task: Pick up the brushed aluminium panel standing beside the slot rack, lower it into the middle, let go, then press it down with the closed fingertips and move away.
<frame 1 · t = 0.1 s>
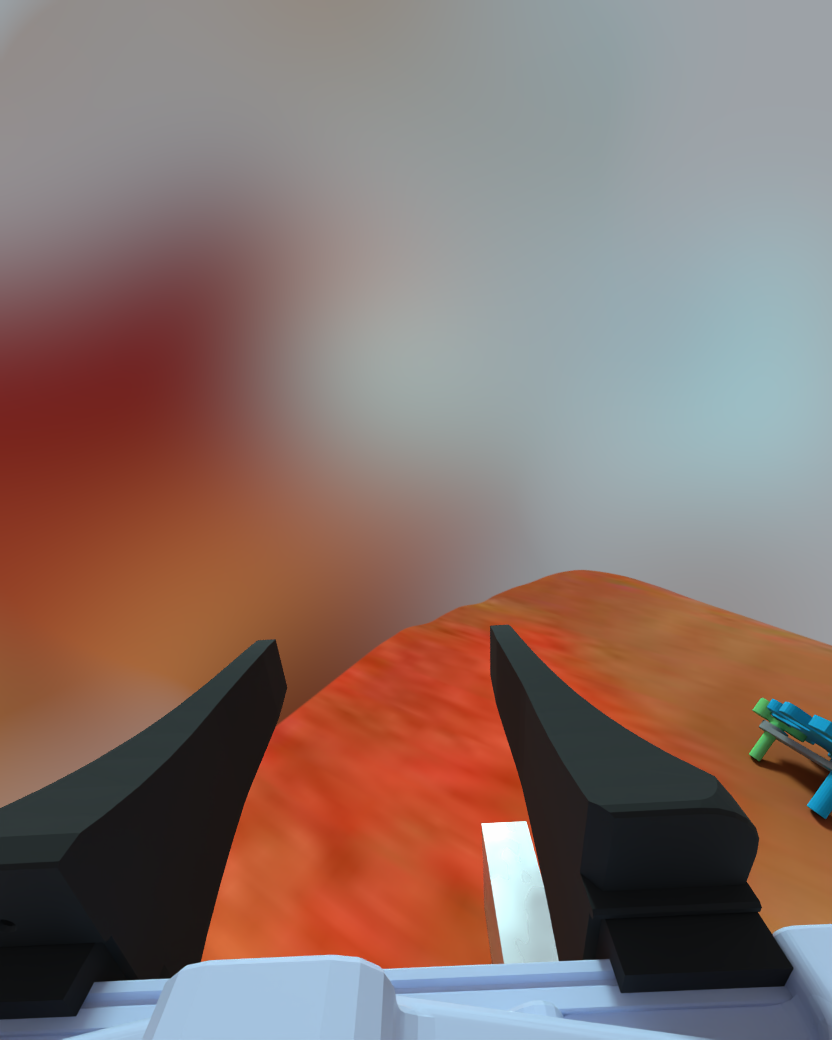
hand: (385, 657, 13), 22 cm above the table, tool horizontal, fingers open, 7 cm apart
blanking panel: (522, 1004, 20), on the table
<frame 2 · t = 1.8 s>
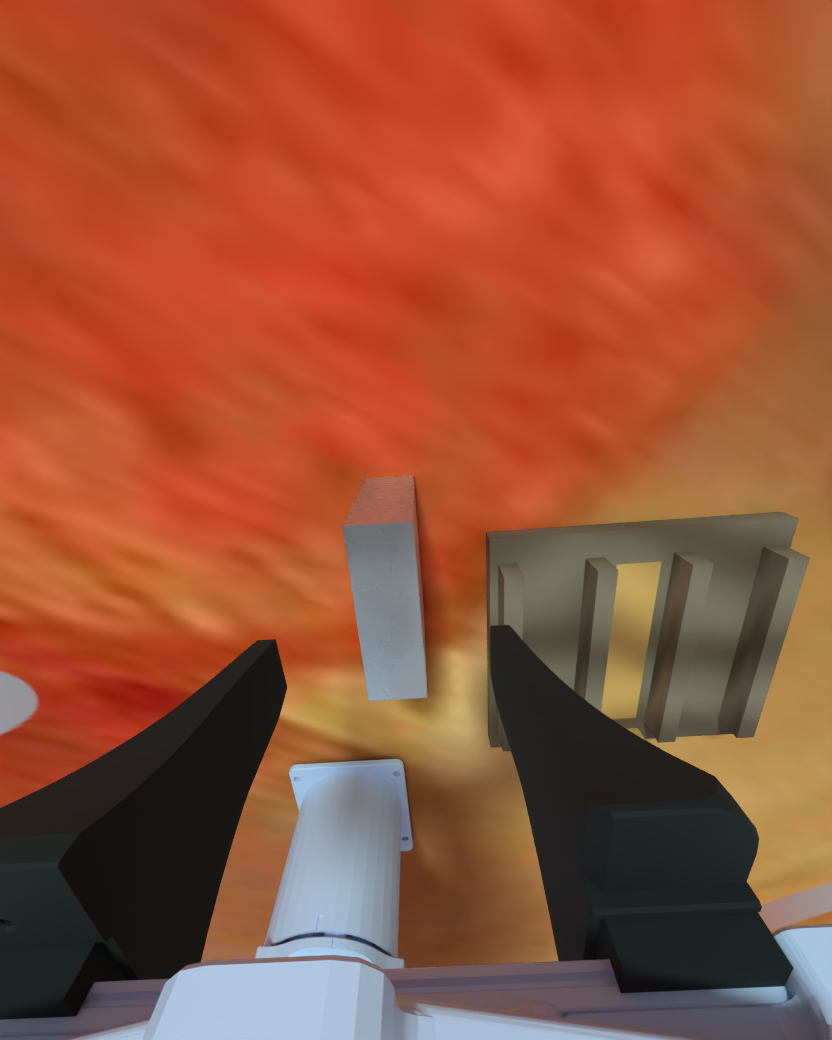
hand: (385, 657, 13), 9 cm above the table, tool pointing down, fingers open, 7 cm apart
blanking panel: (396, 546, 21), on the table
slot rack: (617, 636, 23), on the table
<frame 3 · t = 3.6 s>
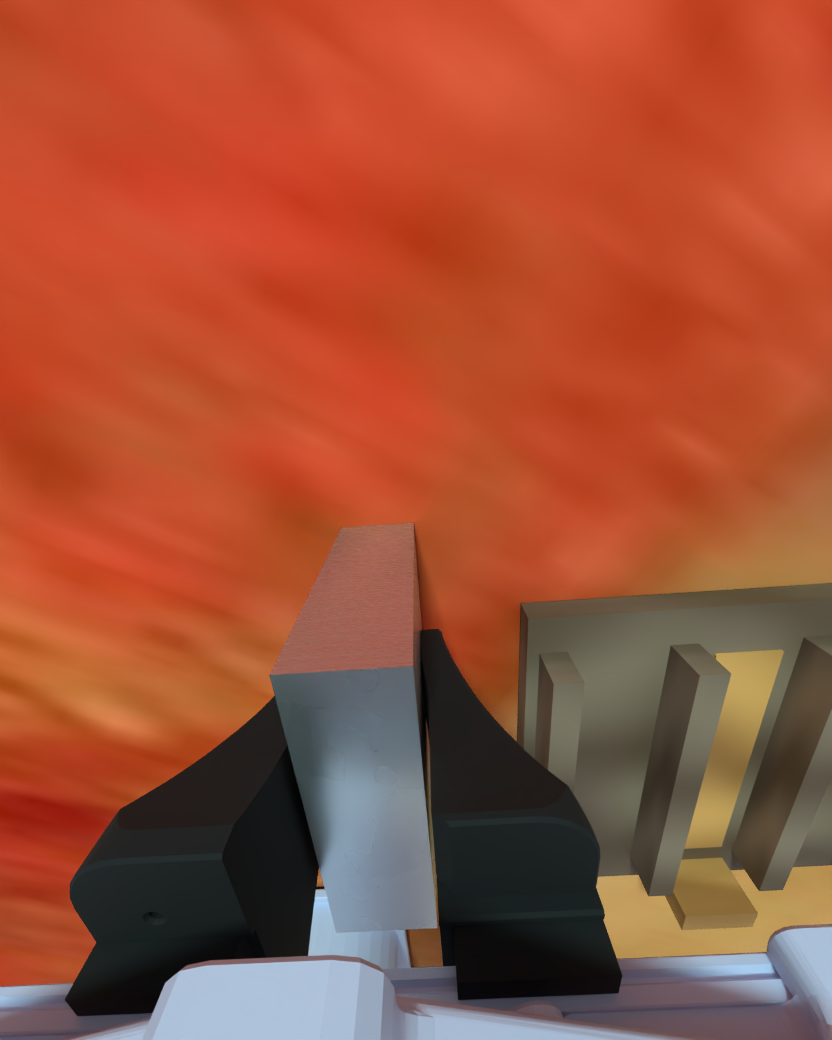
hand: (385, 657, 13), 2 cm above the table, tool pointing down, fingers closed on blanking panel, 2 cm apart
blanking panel: (388, 622, 15), on the table, touching gripper
slot rack: (700, 738, 17), on the table
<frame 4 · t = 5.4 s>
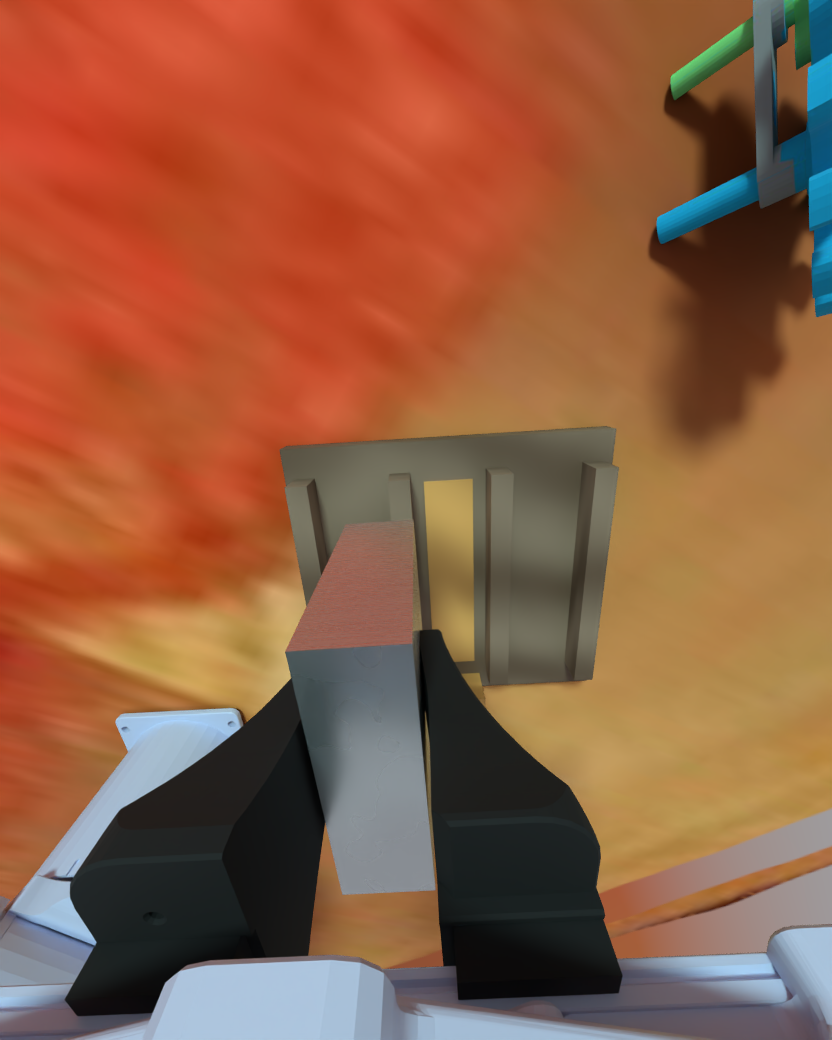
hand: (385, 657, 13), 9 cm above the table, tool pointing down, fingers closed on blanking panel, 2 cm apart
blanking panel: (390, 614, 15), point 6 cm above the table, touching gripper
gear: (734, 186, 16), on the table
slot rack: (449, 570, 22), on the table
when the fingers open (3 cm above the table, at t = 7.4 s): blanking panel stays where it is, resting on slot rack.
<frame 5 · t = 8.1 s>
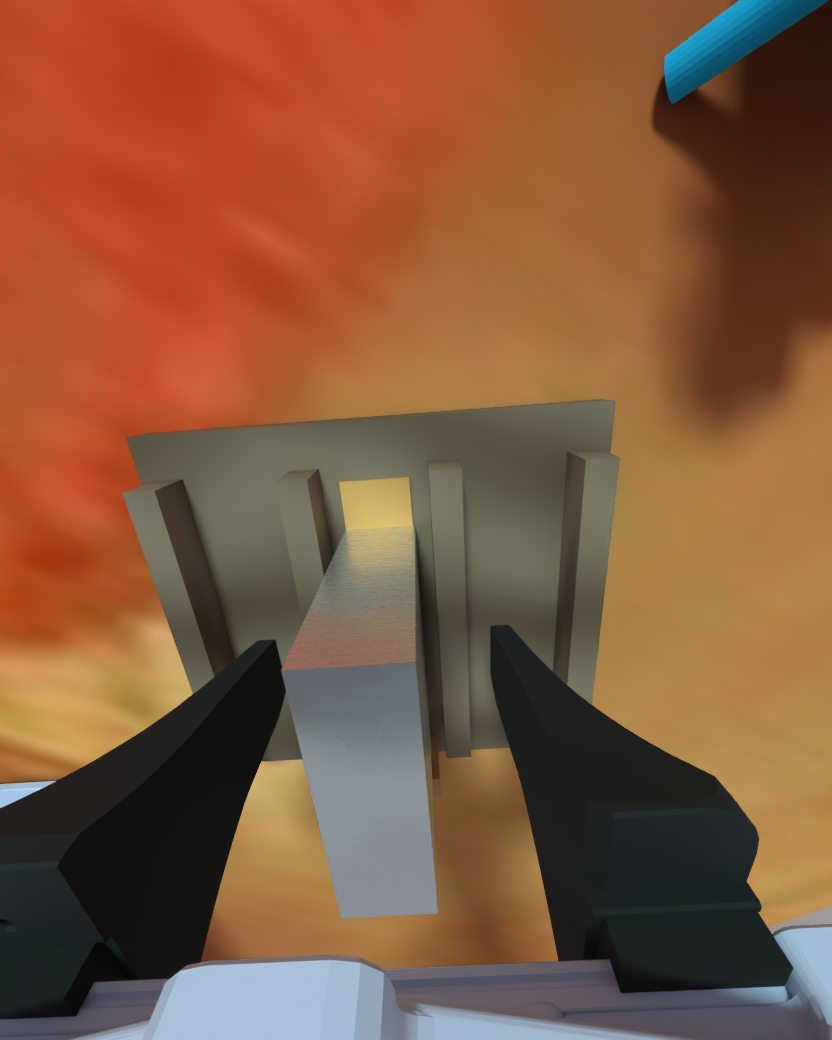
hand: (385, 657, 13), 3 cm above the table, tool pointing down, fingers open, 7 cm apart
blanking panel: (390, 622, 15), point 1 cm above the table, touching slot rack
gear: (787, 13, 10), on the table
slot rack: (391, 601, 16), on the table
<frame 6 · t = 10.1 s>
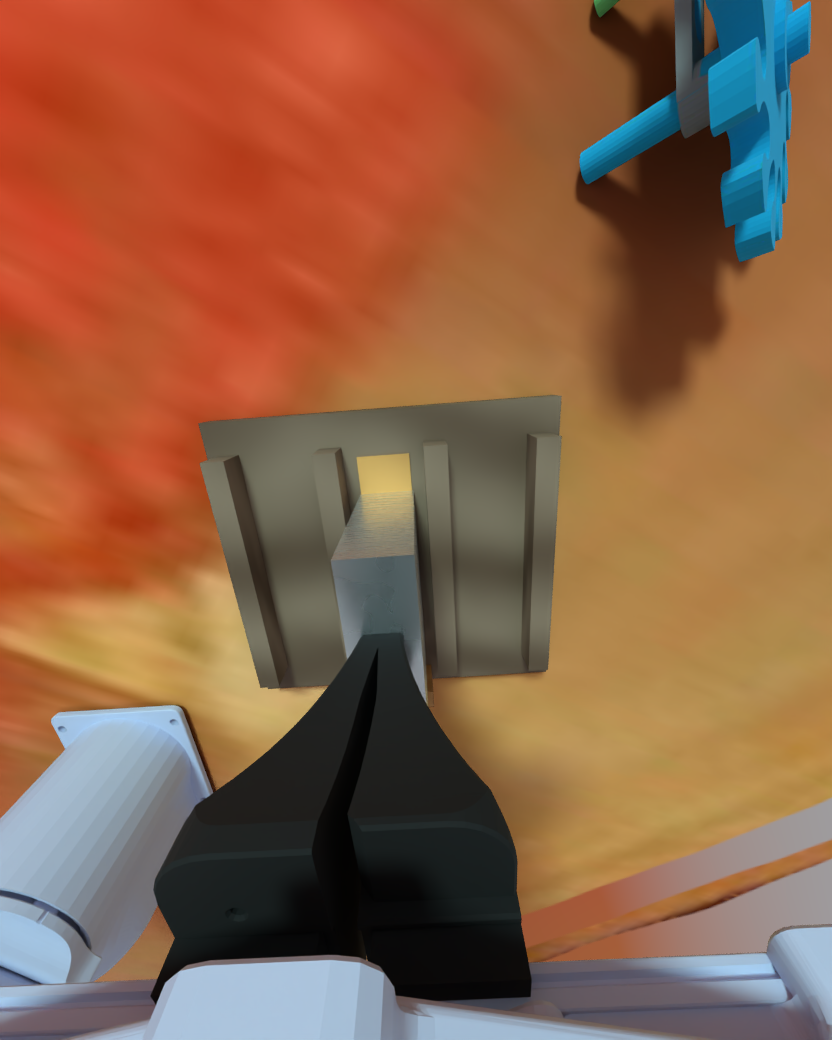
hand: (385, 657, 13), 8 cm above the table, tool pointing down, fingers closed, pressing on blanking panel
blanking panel: (394, 568, 19), point 1 cm above the table, touching gripper, slot rack
gear: (667, 125, 14), on the table
slot rack: (394, 554, 20), on the table
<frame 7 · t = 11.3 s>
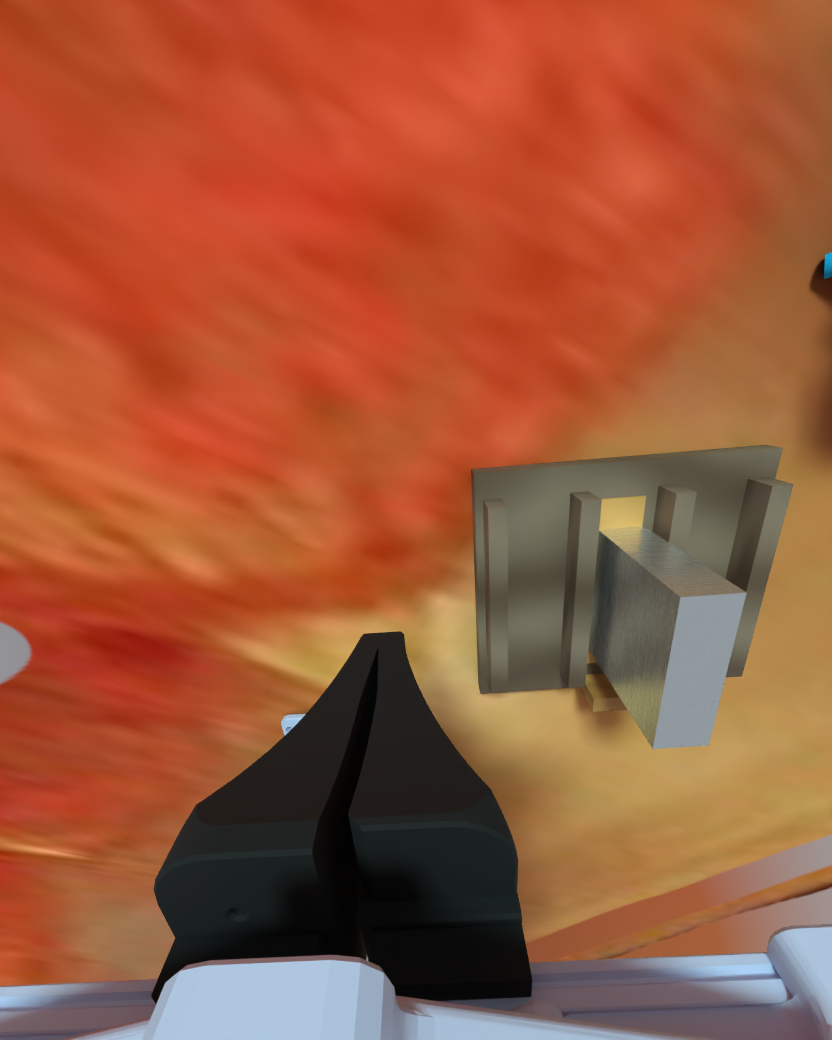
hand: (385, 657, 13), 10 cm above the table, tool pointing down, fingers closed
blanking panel: (613, 590, 23), point 1 cm above the table, touching slot rack
slot rack: (605, 577, 24), on the table
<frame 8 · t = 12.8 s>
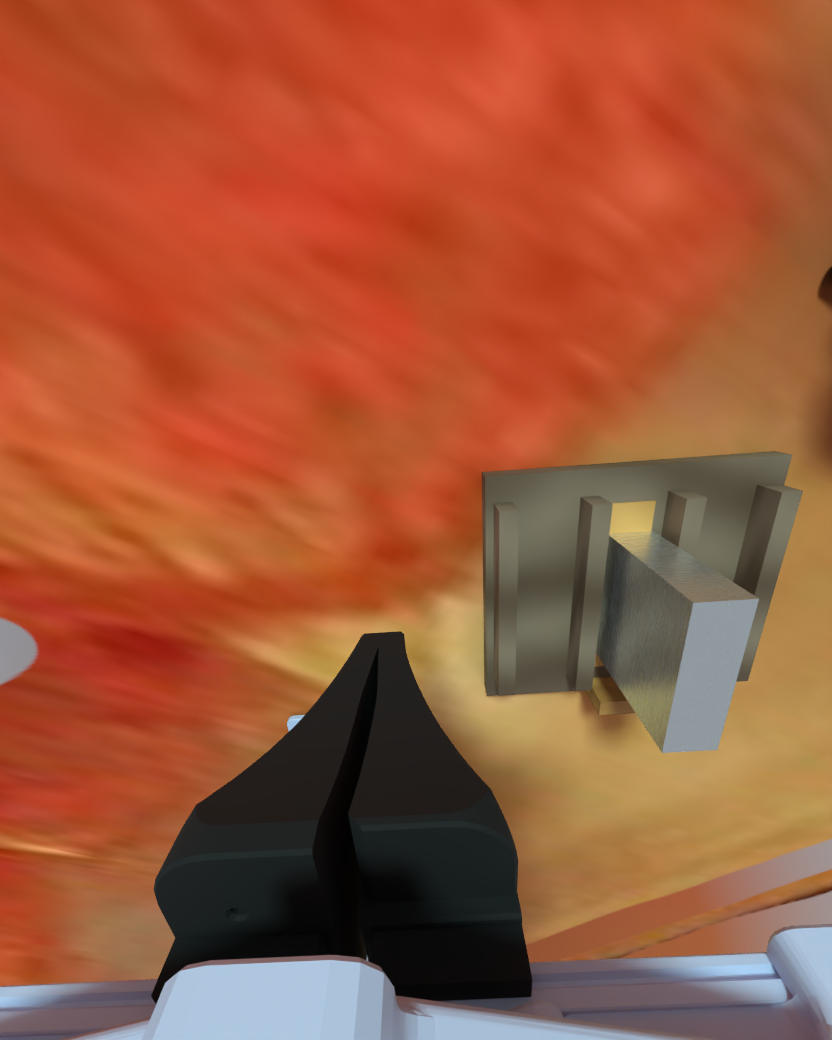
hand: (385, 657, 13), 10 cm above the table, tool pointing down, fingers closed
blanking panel: (621, 594, 23), point 1 cm above the table, touching slot rack
slot rack: (612, 581, 24), on the table
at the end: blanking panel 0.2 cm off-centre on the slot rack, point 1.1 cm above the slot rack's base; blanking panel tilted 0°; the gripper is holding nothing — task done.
